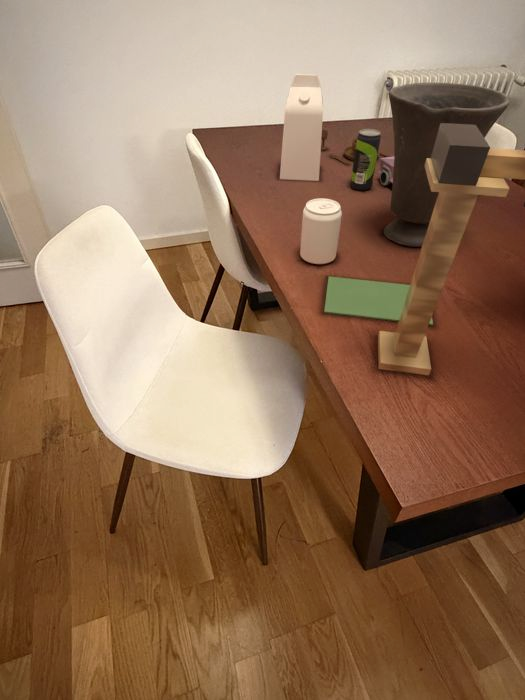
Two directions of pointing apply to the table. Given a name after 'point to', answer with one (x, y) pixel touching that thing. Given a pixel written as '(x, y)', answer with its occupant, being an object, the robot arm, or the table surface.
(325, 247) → the beverage can
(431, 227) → the stand
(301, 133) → the milk
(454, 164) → the mallet
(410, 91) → the vase
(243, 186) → the table surface
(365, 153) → the beverage can
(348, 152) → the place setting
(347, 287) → the felt mat
